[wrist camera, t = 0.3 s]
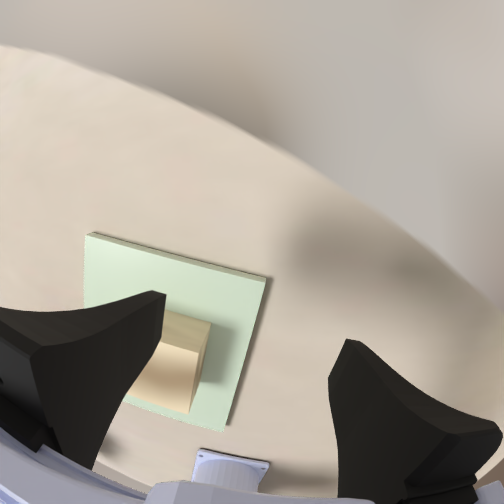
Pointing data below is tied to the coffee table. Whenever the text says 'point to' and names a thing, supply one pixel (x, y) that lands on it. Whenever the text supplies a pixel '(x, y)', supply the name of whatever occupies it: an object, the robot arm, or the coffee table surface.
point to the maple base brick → (174, 364)
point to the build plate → (183, 312)
